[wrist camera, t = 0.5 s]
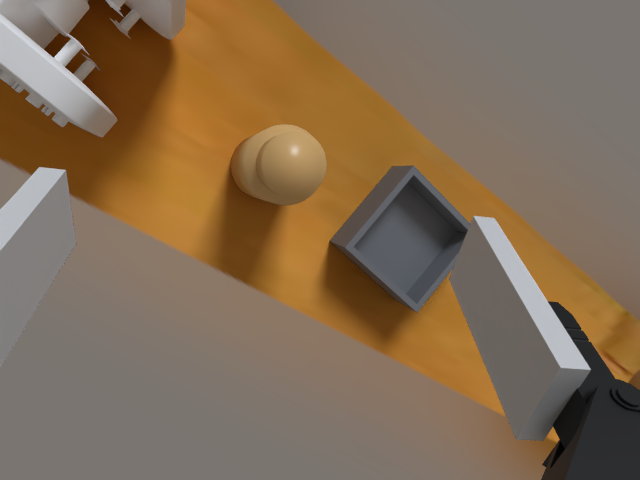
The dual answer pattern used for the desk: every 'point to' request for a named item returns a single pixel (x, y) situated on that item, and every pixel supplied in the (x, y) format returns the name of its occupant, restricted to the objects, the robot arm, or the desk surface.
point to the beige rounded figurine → (279, 165)
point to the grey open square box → (404, 236)
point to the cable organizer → (68, 54)
